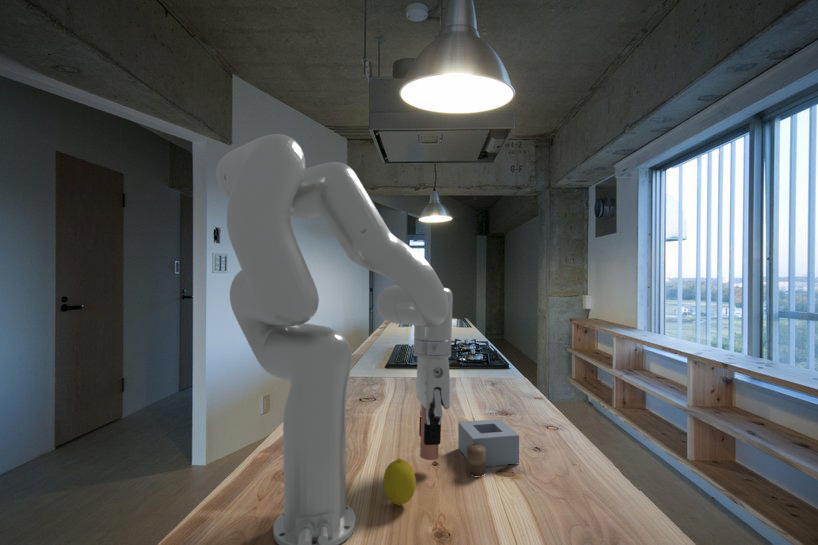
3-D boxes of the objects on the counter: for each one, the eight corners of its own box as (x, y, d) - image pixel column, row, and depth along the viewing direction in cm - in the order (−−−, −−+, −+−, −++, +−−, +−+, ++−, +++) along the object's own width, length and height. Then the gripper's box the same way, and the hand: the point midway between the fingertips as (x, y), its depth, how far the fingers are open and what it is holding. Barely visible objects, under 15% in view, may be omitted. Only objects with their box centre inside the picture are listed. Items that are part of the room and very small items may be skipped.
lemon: (397, 494, 79) (397, 449, 79) (422, 504, 75) (422, 458, 75) (376, 506, 74) (376, 460, 74) (401, 518, 71) (401, 469, 71)
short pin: (488, 476, 85) (488, 450, 85) (470, 478, 85) (470, 452, 85) (481, 468, 89) (481, 443, 89) (464, 469, 88) (464, 444, 88)
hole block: (519, 464, 91) (519, 435, 91) (473, 468, 89) (473, 438, 89) (500, 445, 100) (500, 419, 100) (458, 448, 99) (458, 421, 98)
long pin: (440, 459, 86) (441, 402, 86) (422, 460, 85) (424, 403, 85) (435, 452, 89) (437, 398, 90) (418, 453, 89) (420, 398, 89)
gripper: (462, 355, 80) (459, 455, 80) (439, 342, 97) (437, 426, 96) (423, 354, 79) (419, 457, 78) (406, 342, 95) (403, 427, 95)
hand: (429, 439), depth 87 cm, fingers closed on long pin, 3 cm apart
